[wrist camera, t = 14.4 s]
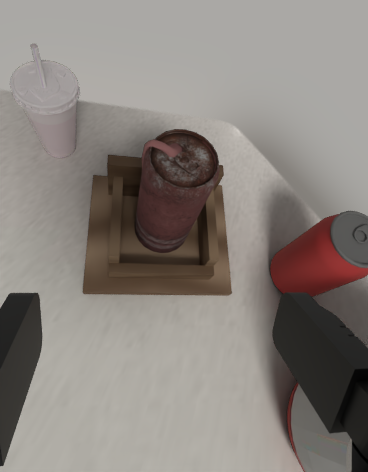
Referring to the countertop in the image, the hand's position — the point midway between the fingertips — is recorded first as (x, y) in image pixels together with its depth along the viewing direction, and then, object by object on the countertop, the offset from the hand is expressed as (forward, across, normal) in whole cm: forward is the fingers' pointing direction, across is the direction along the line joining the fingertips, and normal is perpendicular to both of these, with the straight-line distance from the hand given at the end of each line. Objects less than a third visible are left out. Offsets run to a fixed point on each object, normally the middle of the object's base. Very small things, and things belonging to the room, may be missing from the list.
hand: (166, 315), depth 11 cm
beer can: (+23, -20, +11) cm, 32 cm away
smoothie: (+35, +9, 0) cm, 36 cm away
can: (+26, -3, +7) cm, 27 cm away
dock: (+26, -3, +8) cm, 28 cm away
